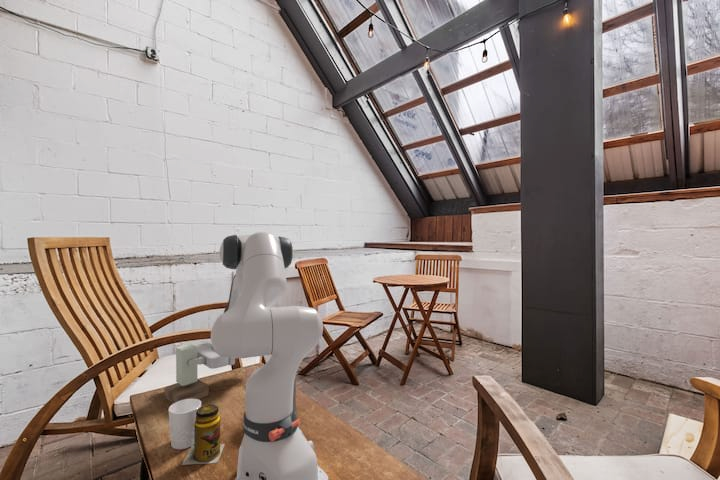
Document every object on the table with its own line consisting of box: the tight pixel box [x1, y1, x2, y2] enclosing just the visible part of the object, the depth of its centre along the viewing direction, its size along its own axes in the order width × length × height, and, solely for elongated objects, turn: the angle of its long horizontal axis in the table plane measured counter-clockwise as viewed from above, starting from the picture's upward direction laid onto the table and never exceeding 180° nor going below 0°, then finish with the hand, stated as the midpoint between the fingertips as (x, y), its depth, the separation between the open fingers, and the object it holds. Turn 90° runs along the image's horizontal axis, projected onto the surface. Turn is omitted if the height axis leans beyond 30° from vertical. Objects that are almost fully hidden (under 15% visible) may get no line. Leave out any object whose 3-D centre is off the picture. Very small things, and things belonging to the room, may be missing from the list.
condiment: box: [181, 403, 226, 466], centre depth 87 cm, size 7×8×12 cm
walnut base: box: [164, 378, 210, 404], centre depth 118 cm, size 10×10×4 cm
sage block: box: [175, 343, 199, 386], centre depth 118 cm, size 5×5×12 cm
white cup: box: [168, 399, 202, 451], centre depth 92 cm, size 8×8×10 cm
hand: (184, 360), depth 117 cm, fingers closed on sage block, 5 cm apart
